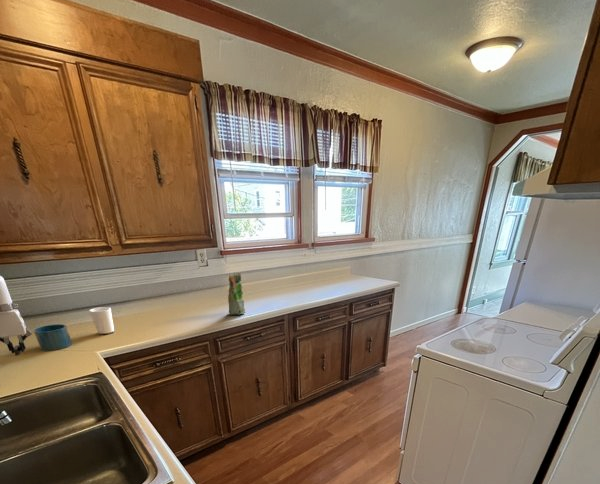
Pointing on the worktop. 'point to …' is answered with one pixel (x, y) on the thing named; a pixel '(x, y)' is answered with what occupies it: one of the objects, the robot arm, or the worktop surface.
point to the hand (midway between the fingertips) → (18, 351)
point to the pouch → (235, 295)
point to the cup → (102, 320)
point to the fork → (17, 350)
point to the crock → (53, 337)
